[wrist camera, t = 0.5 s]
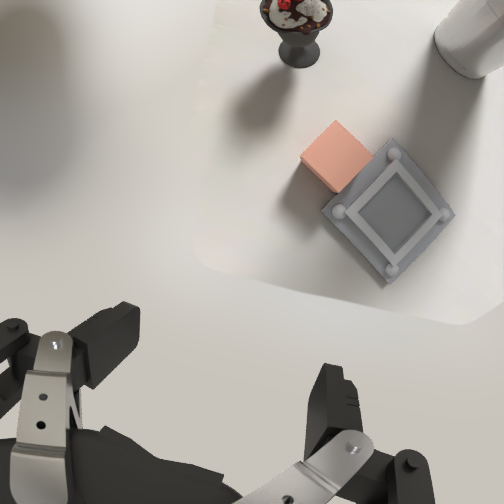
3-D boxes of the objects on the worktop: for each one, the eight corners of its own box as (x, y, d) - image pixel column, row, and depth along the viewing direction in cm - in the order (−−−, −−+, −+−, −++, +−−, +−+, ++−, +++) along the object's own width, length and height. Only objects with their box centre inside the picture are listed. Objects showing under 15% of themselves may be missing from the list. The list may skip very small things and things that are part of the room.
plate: (389, 139, 29) (394, 136, 27) (451, 214, 30) (459, 216, 28) (320, 210, 33) (321, 212, 31) (387, 281, 33) (392, 287, 31)
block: (330, 131, 31) (335, 119, 25) (361, 161, 31) (373, 156, 25) (300, 161, 32) (300, 155, 26) (332, 191, 32) (338, 192, 26)
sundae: (276, 77, 30) (256, 11, 16) (268, 33, 29) (245, -40, 14) (331, 72, 29) (346, 4, 14) (320, 28, 27) (325, -48, 13)
